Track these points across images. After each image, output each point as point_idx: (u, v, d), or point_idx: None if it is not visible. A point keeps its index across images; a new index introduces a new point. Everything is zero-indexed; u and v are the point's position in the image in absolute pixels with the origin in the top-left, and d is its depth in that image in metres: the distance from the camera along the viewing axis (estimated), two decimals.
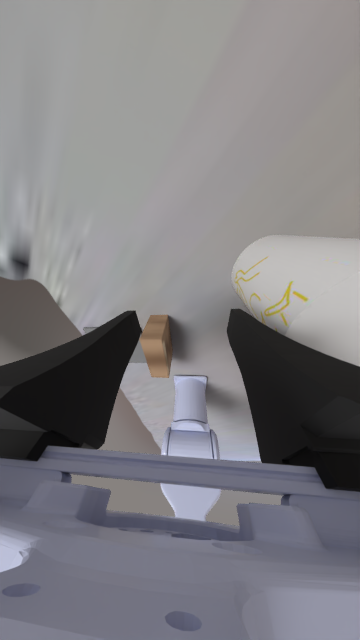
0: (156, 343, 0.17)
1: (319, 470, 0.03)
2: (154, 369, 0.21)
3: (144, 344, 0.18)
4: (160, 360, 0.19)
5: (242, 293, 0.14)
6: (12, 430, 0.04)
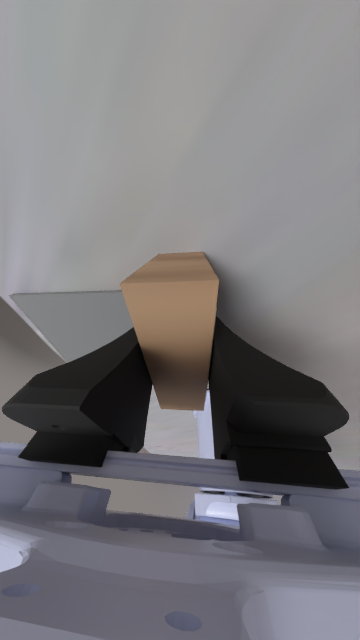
0: (190, 305, 0.04)
1: (237, 463, 0.03)
2: (169, 393, 0.08)
3: (141, 310, 0.04)
4: (192, 370, 0.06)
5: None
6: (71, 434, 0.04)
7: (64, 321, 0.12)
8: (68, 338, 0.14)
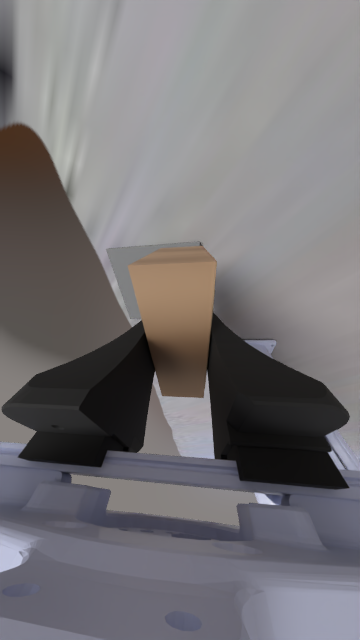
0: (191, 286, 0.05)
1: (237, 463, 0.03)
2: (171, 378, 0.08)
3: (146, 292, 0.05)
4: (192, 353, 0.07)
5: None
6: (71, 434, 0.04)
7: None
8: None
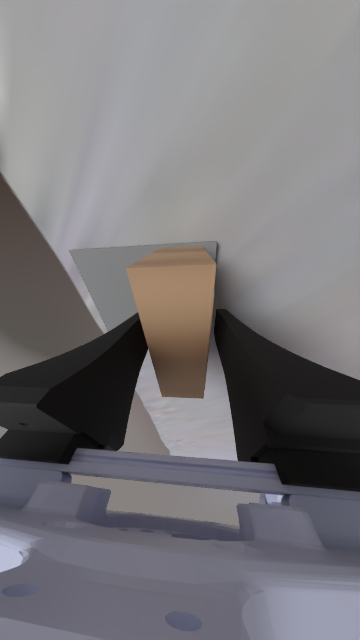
0: (190, 289, 0.05)
1: (277, 467, 0.03)
2: (170, 379, 0.08)
3: (145, 294, 0.05)
4: (192, 355, 0.07)
5: None
6: (41, 432, 0.04)
7: (124, 284, 0.11)
8: (122, 308, 0.12)
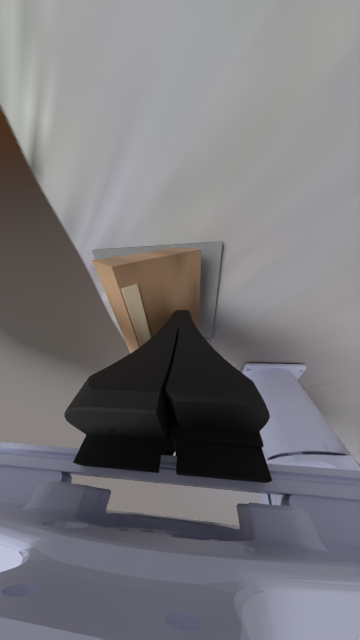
0: (111, 281, 0.06)
1: (177, 458, 0.04)
2: (131, 350, 0.10)
3: (102, 279, 0.08)
4: (131, 336, 0.08)
5: None
6: (123, 438, 0.04)
7: None
8: None
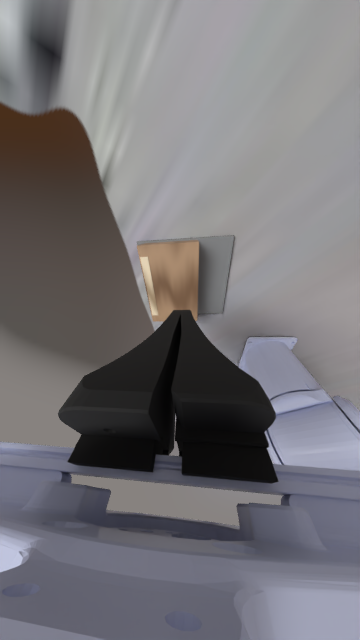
0: None
1: (182, 459, 0.04)
2: None
3: None
4: None
5: None
6: (118, 438, 0.04)
7: None
8: None
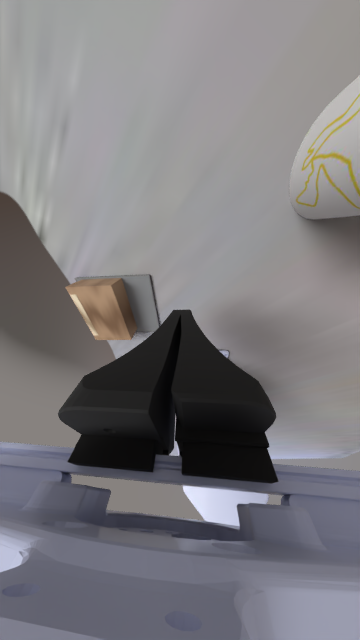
0: None
1: (182, 459, 0.04)
2: None
3: None
4: None
5: (333, 158, 0.08)
6: (118, 438, 0.04)
7: None
8: None
